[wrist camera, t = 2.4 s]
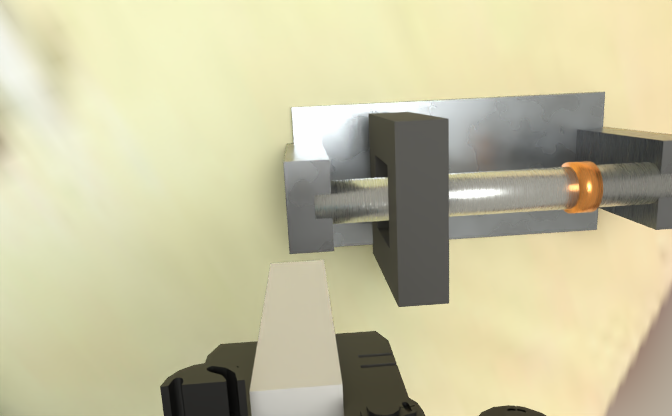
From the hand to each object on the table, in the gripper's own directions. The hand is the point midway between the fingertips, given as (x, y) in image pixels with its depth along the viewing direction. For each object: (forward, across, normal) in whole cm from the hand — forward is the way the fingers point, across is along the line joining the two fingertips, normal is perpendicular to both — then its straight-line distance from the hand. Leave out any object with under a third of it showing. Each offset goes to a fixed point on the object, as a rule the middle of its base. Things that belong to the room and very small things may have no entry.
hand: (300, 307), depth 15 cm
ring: (+19, +6, 0) cm, 20 cm away
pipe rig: (+24, +11, 0) cm, 26 cm away
